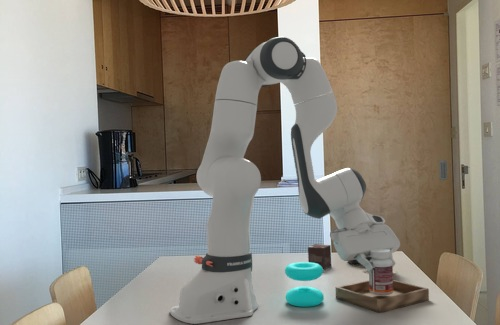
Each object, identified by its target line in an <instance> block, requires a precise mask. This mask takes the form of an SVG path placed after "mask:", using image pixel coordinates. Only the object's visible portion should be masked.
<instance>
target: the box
mask: <svg viewBox="0 0 500 325" xmlns="http://www.w3.org/2000/svg"><path fill="white" fill-rule="evenodd" d="M331 248H332V246H331V244H320V243H319V244H318V243H315V244H312V245H310V246H308V247H307V258H308V260H307V262H312V263H317V264H319V265H321V266H322V268H323V270H326V269H328V268H331V266H332V251H331Z"/></svg>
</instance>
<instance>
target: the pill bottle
mask: <svg viewBox="0 0 500 325" xmlns="http://www.w3.org/2000/svg"><path fill="white" fill-rule="evenodd" d="M370 257H372V259H371V260H370V261H369V262H373V264H374V265H375V269H374V270H373V271H369V274H368V280H369V290H370V292H371V293H372V294H376V295H389V294H392V293H393V280H394V274H393V272H394V271H393V270H394V269H393V267H394V266H393V264H392V261H391V260H390V259H389V258H390V250H388V249H375V250H370Z"/></svg>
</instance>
